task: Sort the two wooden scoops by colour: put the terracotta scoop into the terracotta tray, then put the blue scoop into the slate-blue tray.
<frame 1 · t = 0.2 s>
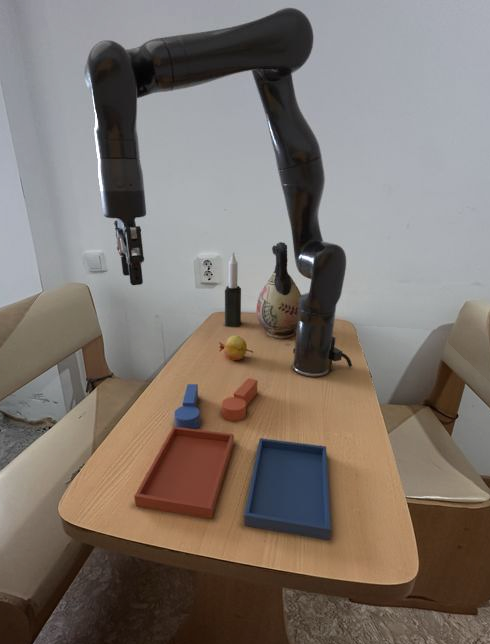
hand: (132, 279, 72), 29 cm above the table, tool pointing down, fingers open, 8 cm apart
candle: (232, 324, 132), on the table
terracotta scoop: (243, 403, 85), on the table
blue scoop: (190, 410, 82), on the table
ceramic jug: (278, 335, 123), on the table
fruit: (235, 359, 106), on the table
blue tray: (289, 486, 62), on the table
terracotta tray: (189, 471, 65), on the table
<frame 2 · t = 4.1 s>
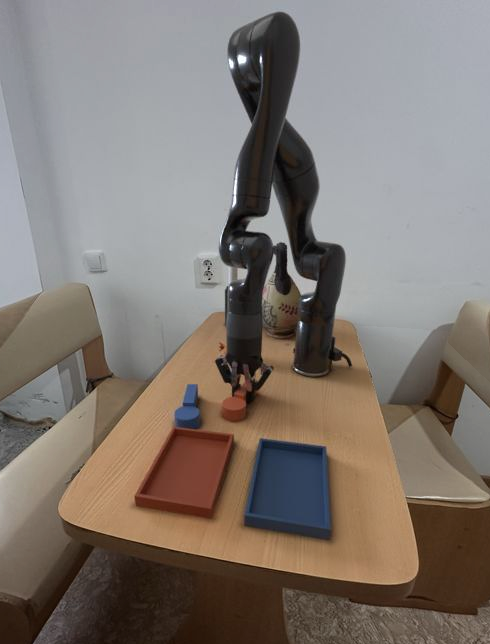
hand: (243, 401, 85), 1 cm above the table, tool pointing down, fingers closed on terracotta scoop, 2 cm apart
terracotta scoop: (243, 403, 85), on the table, touching gripper
everything else where it was.
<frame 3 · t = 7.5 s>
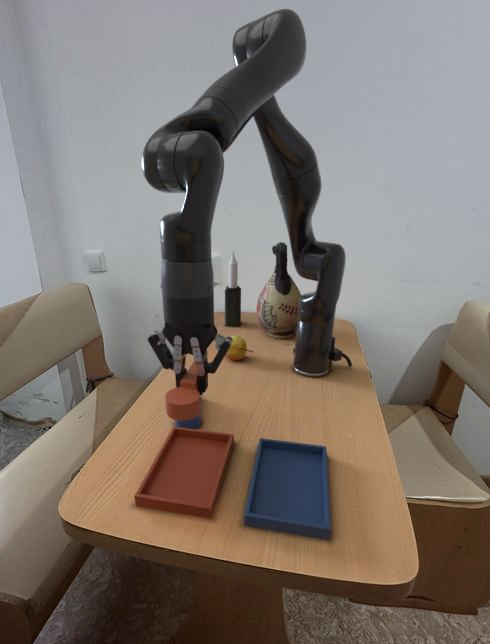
hand: (192, 391, 61), 15 cm above the table, tool pointing down, fingers closed on terracotta scoop, 2 cm apart
terracotta scoop: (192, 394, 62), point 14 cm above the table, touching gripper
everything else where it was.
when the fingers open (1 cm above the table, at t = 10.8 s): terracotta scoop stays where it is, resting on terracotta tray.
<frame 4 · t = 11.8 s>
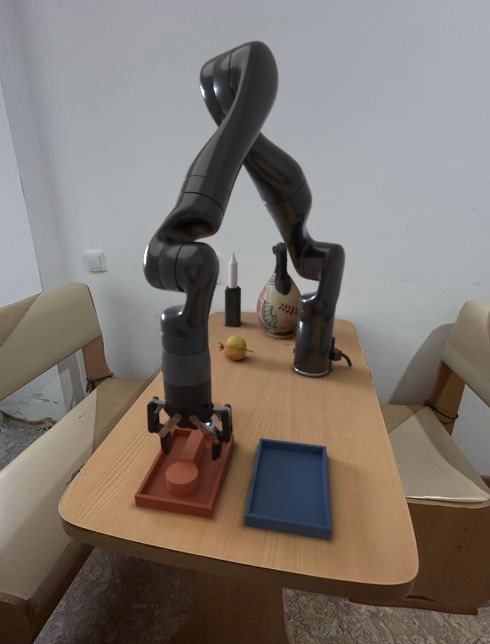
hand: (191, 454, 65), 3 cm above the table, tool pointing down, fingers open, 8 cm apart
terracotta scoop: (191, 465, 66), resting on terracotta tray
everything else where it was.
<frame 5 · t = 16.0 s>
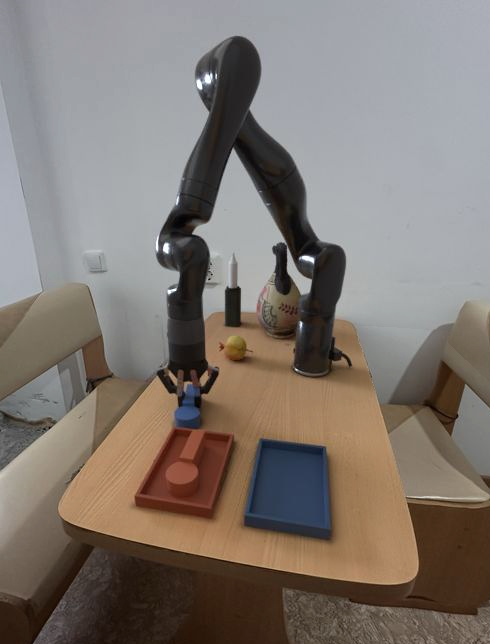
hand: (190, 408, 82), 1 cm above the table, tool pointing down, fingers closed on blue scoop, 2 cm apart
blue scoop: (190, 410, 82), on the table, touching gripper
everything else where it was.
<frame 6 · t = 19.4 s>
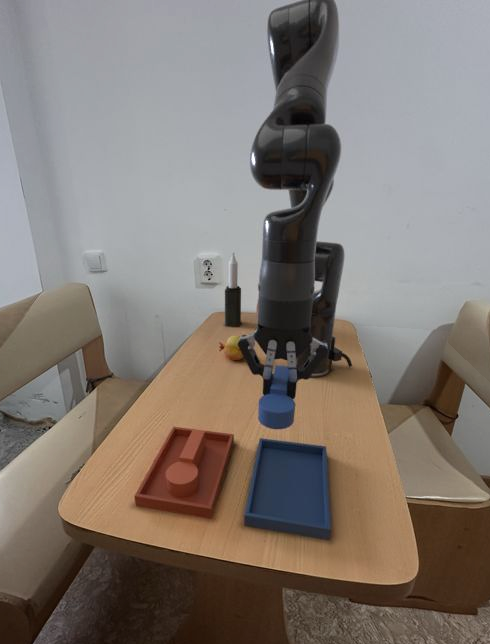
hand: (278, 397, 59), 15 cm above the table, tool pointing down, fingers closed on blue scoop, 2 cm apart
blue scoop: (278, 401, 59), point 14 cm above the table, touching gripper
everything else where it was.
when the fingers open (1 cm above the table, at t = 23.0 s): blue scoop stays where it is, resting on blue tray.
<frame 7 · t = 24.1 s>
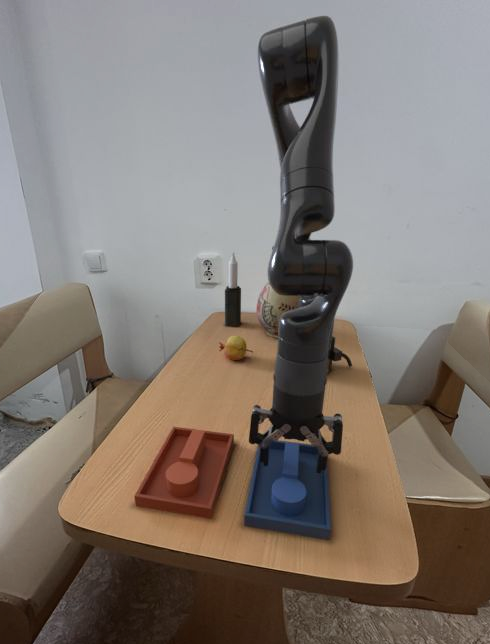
hand: (291, 466, 61), 3 cm above the table, tool pointing down, fingers open, 8 cm apart
blue scoop: (289, 480, 62), resting on blue tray
everything else where it was.
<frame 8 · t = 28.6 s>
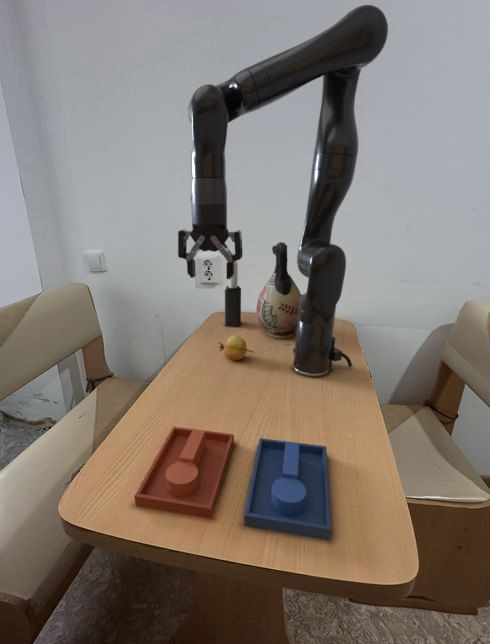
hand: (210, 277, 85), 26 cm above the table, tool pointing down, fingers open, 8 cm apart
nothing on the table moved.
at the end: terracotta scoop inside the target area in the terracotta tray (0.3 cm from its centre), point 0.5 cm above the terracotta tray's base; blue scoop inside the target area in the blue tray (0.3 cm from its centre), point 0.5 cm above the blue tray's base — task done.
